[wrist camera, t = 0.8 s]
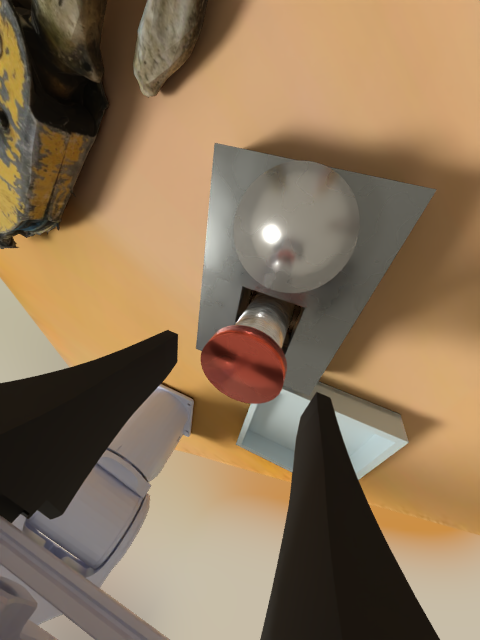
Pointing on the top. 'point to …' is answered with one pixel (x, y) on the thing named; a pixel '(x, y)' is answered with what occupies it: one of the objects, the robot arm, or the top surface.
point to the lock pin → (250, 352)
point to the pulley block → (68, 95)
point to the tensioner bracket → (300, 248)
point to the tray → (353, 419)
